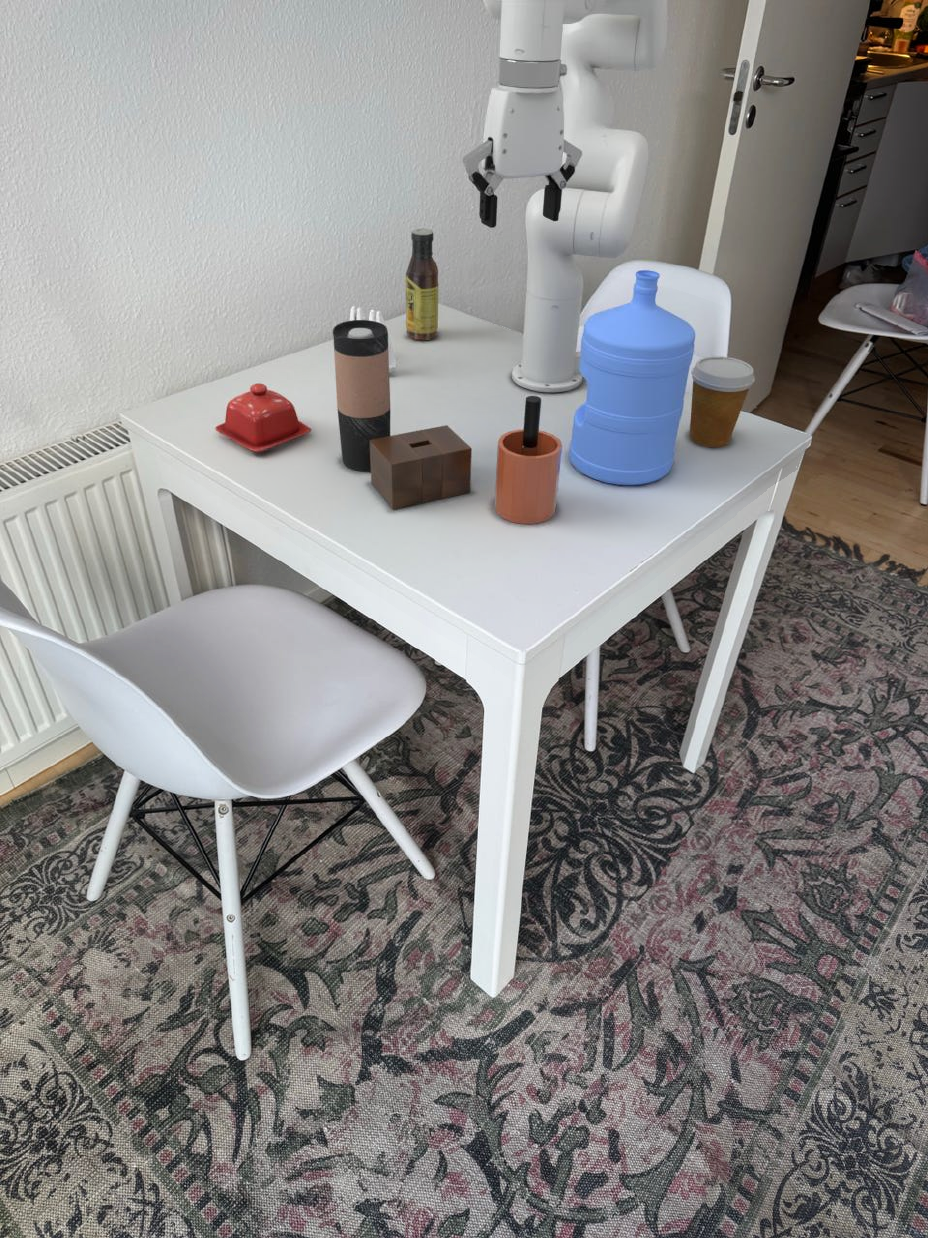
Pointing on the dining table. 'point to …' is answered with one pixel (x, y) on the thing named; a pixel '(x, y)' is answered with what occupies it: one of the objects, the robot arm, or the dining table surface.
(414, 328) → the sauce bottle
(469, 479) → the knife block
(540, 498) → the cup
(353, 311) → the shaker set
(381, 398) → the travel mug
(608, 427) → the water jug
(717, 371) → the disposable coffee cup
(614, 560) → the dining table surface
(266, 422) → the butter dish
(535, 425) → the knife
